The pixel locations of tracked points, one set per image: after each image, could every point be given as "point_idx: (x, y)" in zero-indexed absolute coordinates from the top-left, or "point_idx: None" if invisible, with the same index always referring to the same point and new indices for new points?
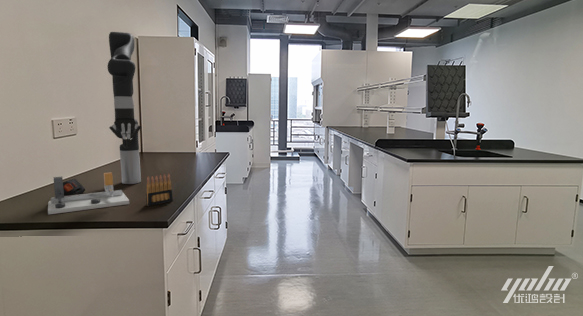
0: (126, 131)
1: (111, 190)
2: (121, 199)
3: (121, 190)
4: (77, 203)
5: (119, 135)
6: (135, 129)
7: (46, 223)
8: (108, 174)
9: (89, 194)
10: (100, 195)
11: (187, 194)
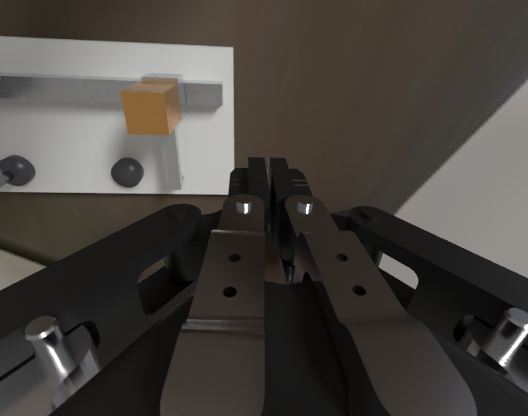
0: (305, 267)
1: (175, 183)
2: (212, 170)
3: (220, 99)
4: (66, 147)
5: (183, 292)
6: (465, 314)
7: (34, 261)
8: (150, 132)
9: (90, 101)
10: None
11: (431, 166)
